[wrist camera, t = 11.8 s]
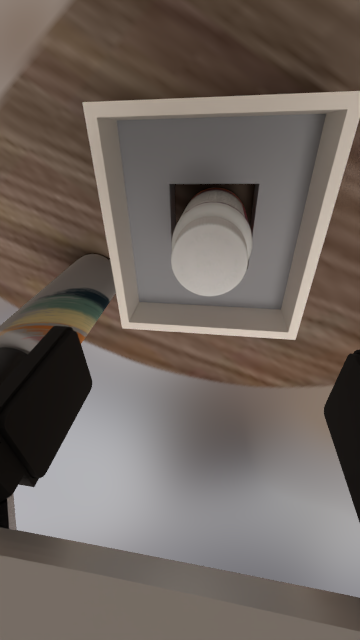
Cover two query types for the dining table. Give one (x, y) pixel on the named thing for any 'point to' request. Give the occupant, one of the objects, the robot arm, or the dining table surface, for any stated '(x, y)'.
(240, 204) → the pill bottle
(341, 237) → the dining table surface
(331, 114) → the box
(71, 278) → the lotion bottle
